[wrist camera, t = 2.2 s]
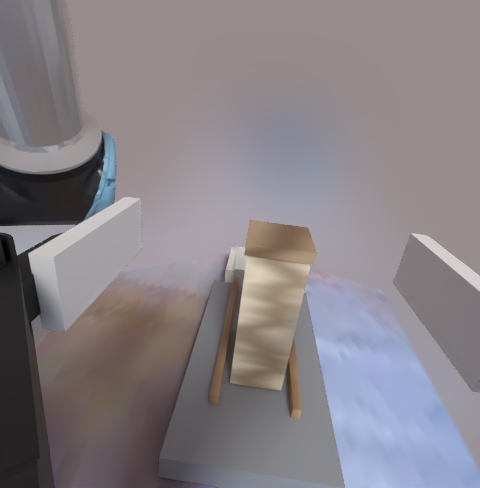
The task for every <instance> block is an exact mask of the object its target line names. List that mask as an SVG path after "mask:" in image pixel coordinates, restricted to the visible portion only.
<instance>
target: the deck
mask: <svg viewBox="0 0 480 488" xmlns="http://www.w3.org/2000/svg"><path fill="white" fill-rule="evenodd" d="M232 284H233V283H229V282H222V281H214V284H213V287H212V290H211V294H210V297H209V300H208V303H207V306H206V309H205V313H204V316H203V319H202V322H201V325H200V329H199V332H198V335H197V338H196V341H195V344H194V348H193V351H192V354H191V357H190V360H189V363H188V367H187V370H186V373H185V376H184V379H183V382H182V386H181V389H180V392H179V395H178V398H177V401H176V405H175V408H174V411H173V414H172V417H171V421H170V424H169V427H168V430H167V433H166V436H165V440H164V443H163V446H162V449H161V452H160V455H159V477H160V478H166V479H172V480H179V481H185V482H191V483H197V484H203V485H209V486H215V487H221V488H345V485H344V480H343V475H342V470H341V465H340V460H339V455H338V450H337V445H336V440H335V435H334V430H333V425H332V420H331V415H330V411H329V406H328V401H327V396H326V391H325V386H324V381H323V376H322V371H321V366H320V361H319V356H318V351H317V346H316V341H315V336H314V332H313V327H312V322H311V317H310V312H309V307H308V302H307V297H306V293H304V295H303V299H302V304H301V308H300V312H299V317H298V321H297V325H296V329H295V334H294V341H295V350H296V359H297V367H298V376H299V385H300V394H301V403H302V412H301V416H300V419H298V418H291V415H290V401H289V387H288V373H287V368H286V372H285V376H284V380H283V385H282V389H281V391H279V390H272V389H266V388H259V387H253V386H246V385H240V384H233V383H230V378H231V370H232V363H233V355H234V348H235V340H236V333H237V326H238V318H239V311H240V303H241V296H242V288H243V284H238V290H237V296H236V302H235V307H234V313H233V319H232V325H231V331H230V336H229V342H228V348H227V354H226V360H225V366H224V371H223V377H222V383H221V389H220V395H219V400H218V406H214V405H209V397H210V391H211V386H212V382H213V377H214V372H215V367H216V362H217V357H218V352H219V348H220V343H221V338H222V333H223V328H224V323H225V318H226V314H227V309H228V304H229V299H230V294H231V289H232Z"/></svg>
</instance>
